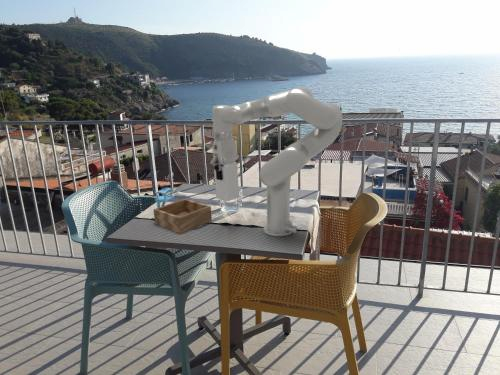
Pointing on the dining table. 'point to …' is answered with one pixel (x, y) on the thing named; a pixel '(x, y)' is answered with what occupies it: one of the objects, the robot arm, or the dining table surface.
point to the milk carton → (227, 182)
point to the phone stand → (164, 197)
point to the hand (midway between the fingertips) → (226, 177)
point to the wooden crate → (182, 215)
